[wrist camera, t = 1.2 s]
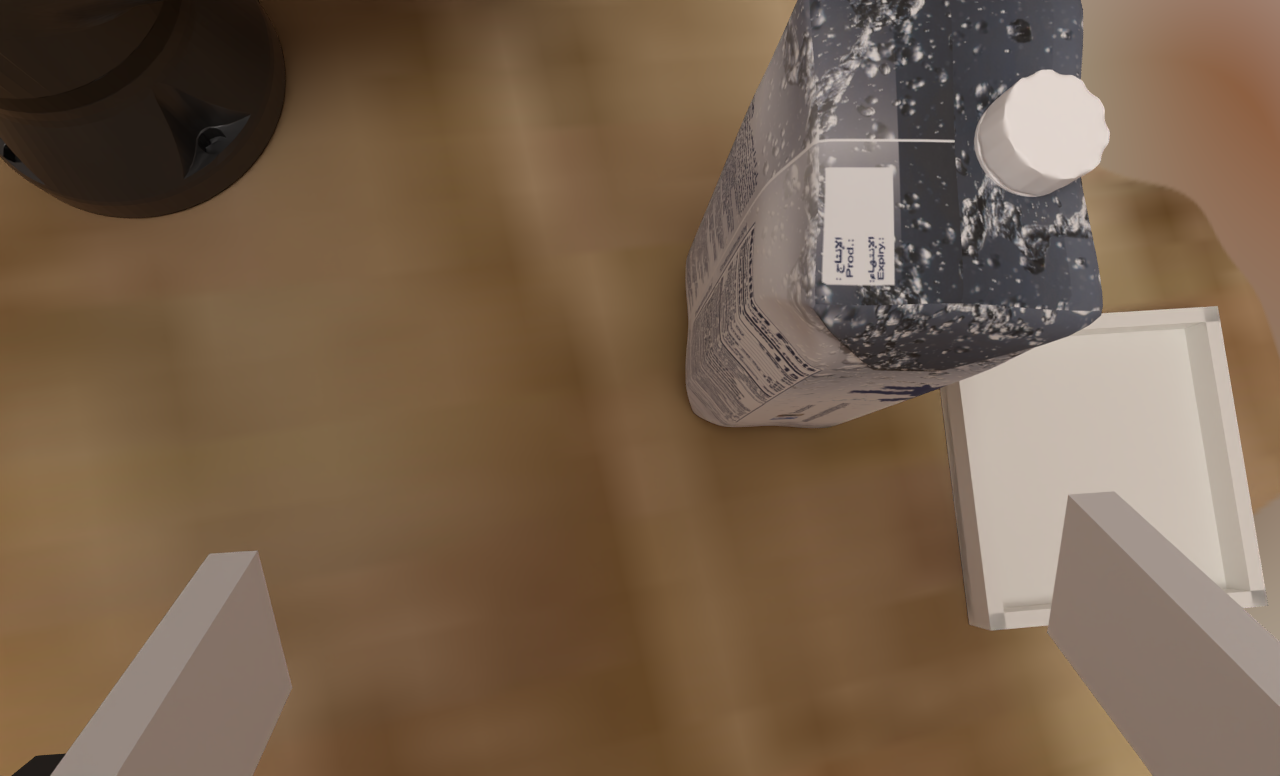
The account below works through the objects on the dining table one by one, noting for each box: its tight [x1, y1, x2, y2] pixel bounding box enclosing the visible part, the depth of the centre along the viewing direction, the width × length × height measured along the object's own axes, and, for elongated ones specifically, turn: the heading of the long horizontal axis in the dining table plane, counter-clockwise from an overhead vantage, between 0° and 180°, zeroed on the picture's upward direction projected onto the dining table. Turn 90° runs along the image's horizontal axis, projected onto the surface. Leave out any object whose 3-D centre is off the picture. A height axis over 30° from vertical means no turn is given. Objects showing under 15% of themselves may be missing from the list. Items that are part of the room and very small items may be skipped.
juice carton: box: [686, 0, 1110, 428], centre depth 35 cm, size 9×10×27 cm
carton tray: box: [940, 306, 1268, 630], centre depth 47 cm, size 16×15×2 cm
